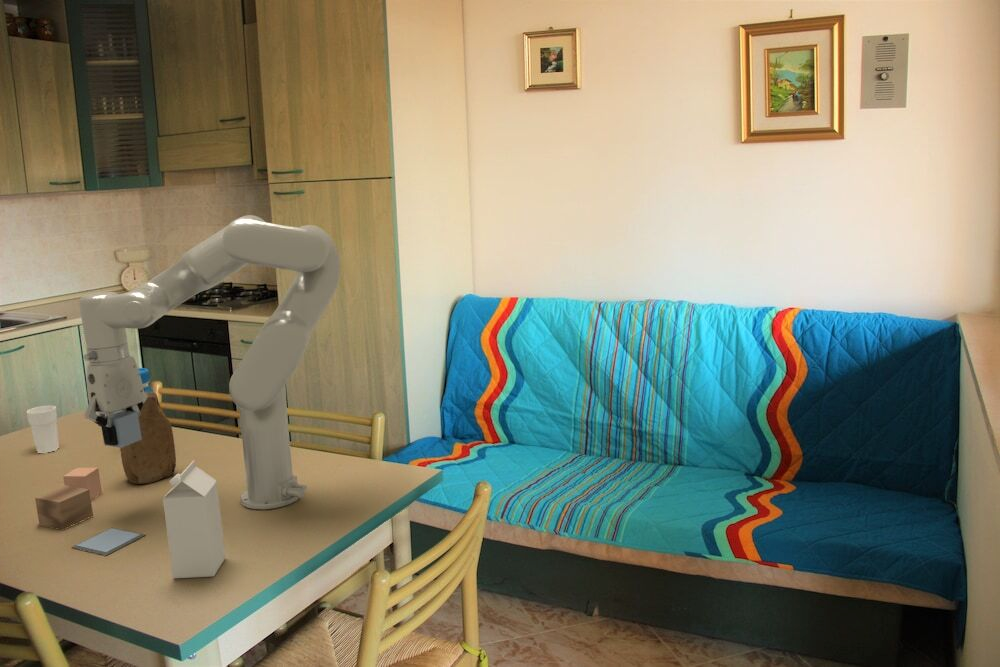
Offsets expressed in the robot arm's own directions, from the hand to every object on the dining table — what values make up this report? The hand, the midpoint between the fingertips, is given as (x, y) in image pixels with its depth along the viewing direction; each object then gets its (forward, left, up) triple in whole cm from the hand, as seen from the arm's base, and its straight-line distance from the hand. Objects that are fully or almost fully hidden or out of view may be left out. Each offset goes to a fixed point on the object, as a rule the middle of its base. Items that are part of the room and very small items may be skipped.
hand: (122, 439), depth 171 cm
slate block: (0, 0, -1) cm, 1 cm away
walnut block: (+9, +8, -16) cm, 20 cm away
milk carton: (-33, +14, -16) cm, 39 cm away
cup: (+53, -21, -16) cm, 60 cm away
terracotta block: (+16, -2, -16) cm, 23 cm away
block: (+11, -16, -16) cm, 25 cm away
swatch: (-8, +12, -16) cm, 21 cm away
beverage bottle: (+31, -32, -16) cm, 47 cm away
